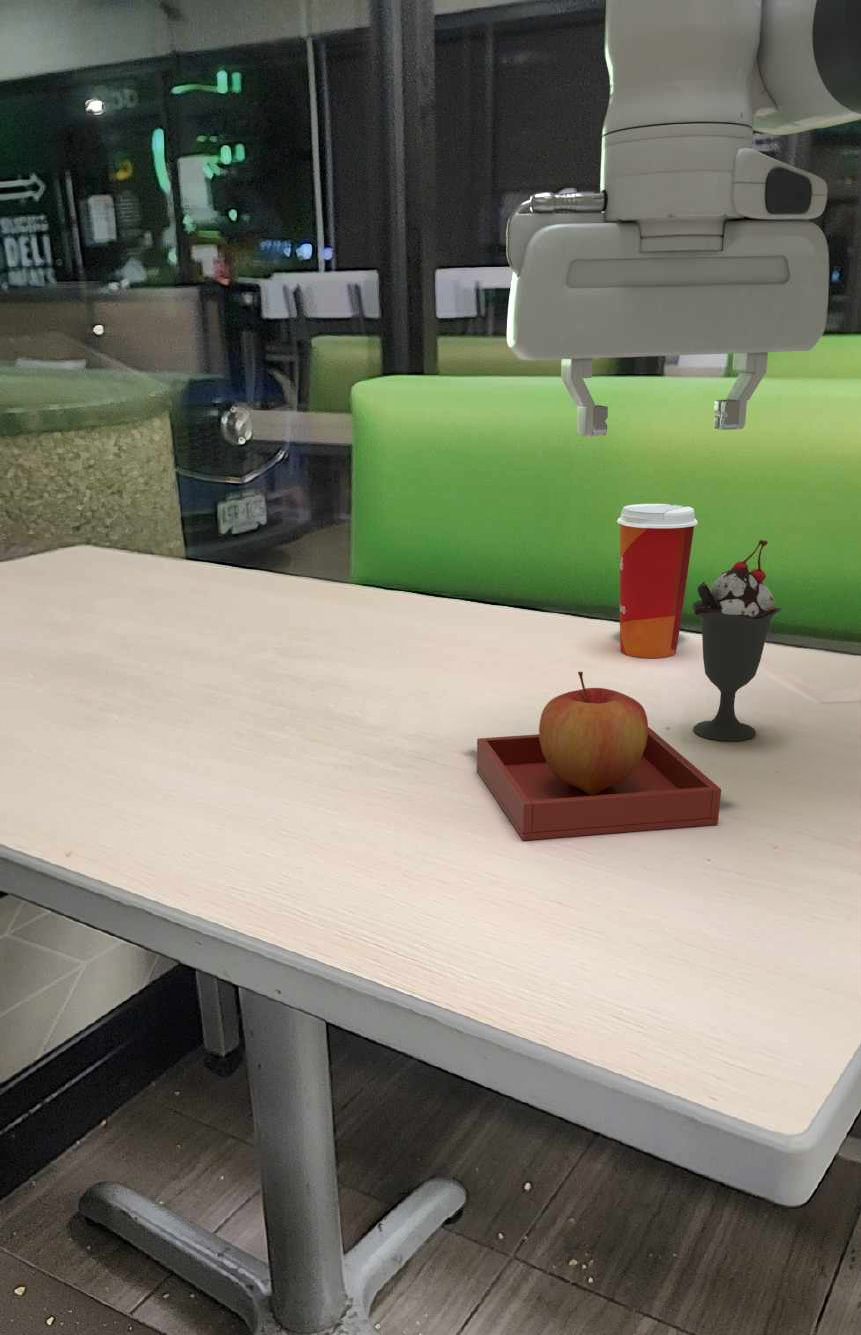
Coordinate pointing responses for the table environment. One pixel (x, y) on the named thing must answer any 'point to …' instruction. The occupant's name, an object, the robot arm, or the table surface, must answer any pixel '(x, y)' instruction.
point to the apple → (593, 737)
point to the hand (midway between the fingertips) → (660, 432)
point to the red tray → (553, 809)
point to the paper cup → (653, 576)
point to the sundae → (733, 641)
